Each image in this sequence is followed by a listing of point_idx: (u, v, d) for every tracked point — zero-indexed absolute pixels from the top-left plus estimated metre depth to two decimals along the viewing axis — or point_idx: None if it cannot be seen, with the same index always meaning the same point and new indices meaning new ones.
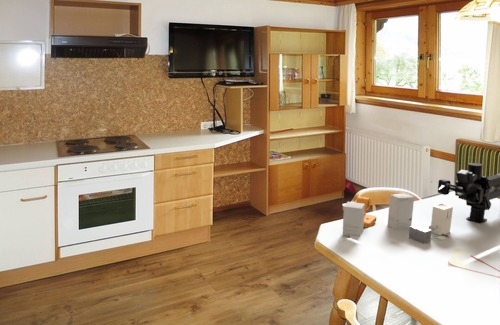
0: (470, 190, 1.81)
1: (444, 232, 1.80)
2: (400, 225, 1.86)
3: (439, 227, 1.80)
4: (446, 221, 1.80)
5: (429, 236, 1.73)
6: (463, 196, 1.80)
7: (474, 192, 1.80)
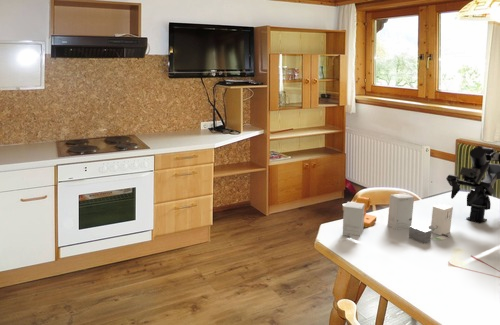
0: (477, 189, 1.84)
1: (444, 232, 1.80)
2: (400, 225, 1.86)
3: (439, 227, 1.80)
4: (446, 221, 1.80)
5: (429, 236, 1.73)
6: (472, 199, 1.84)
7: (481, 190, 1.83)
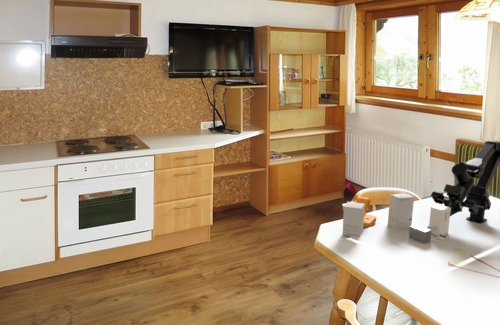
0: (452, 205, 1.82)
1: (442, 233, 1.79)
2: (400, 225, 1.86)
3: (437, 228, 1.79)
4: (444, 222, 1.79)
5: (429, 236, 1.73)
6: None
7: (457, 206, 1.81)
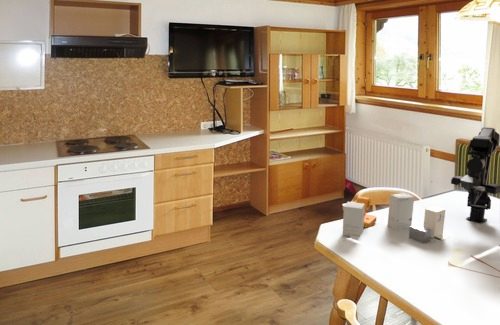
0: (476, 192, 1.81)
1: (437, 235, 1.77)
2: (400, 225, 1.86)
3: None
4: (439, 224, 1.77)
5: (429, 236, 1.73)
6: (476, 200, 1.83)
7: None
